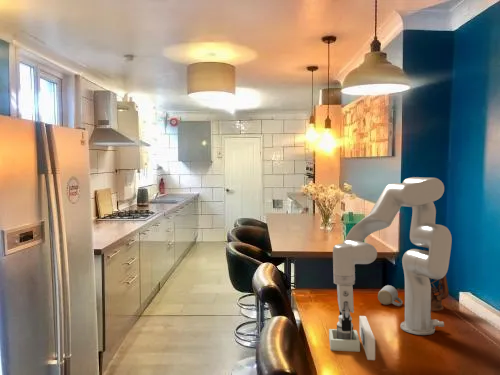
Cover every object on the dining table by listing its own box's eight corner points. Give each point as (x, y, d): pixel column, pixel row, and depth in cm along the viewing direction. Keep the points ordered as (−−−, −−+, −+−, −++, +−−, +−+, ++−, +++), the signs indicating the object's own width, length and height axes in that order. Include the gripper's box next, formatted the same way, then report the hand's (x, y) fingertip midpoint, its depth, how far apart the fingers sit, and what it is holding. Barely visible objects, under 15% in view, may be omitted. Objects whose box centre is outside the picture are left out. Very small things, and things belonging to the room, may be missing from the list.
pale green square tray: (356, 339, 153) (356, 330, 153) (359, 351, 143) (359, 341, 143) (329, 338, 155) (329, 328, 154) (330, 350, 145) (330, 339, 145)
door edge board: (365, 333, 159) (365, 316, 158) (375, 360, 137) (375, 339, 136) (358, 333, 159) (358, 315, 159) (366, 359, 137) (366, 339, 137)
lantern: (407, 308, 187) (407, 242, 186) (409, 299, 199) (409, 238, 198) (448, 313, 180) (449, 245, 179) (448, 304, 192) (448, 240, 191)
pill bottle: (341, 339, 153) (342, 312, 152) (355, 343, 149) (356, 316, 149) (333, 343, 149) (334, 316, 148) (347, 348, 145) (348, 320, 144)
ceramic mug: (376, 303, 194) (376, 287, 193) (382, 299, 200) (382, 283, 200) (399, 308, 187) (399, 292, 187) (404, 303, 194) (404, 287, 194)
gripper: (357, 285, 139) (358, 335, 140) (352, 272, 156) (353, 316, 157) (335, 285, 140) (336, 334, 141) (332, 272, 157) (333, 316, 158)
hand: (345, 325), depth 149 cm, fingers open, 9 cm apart
